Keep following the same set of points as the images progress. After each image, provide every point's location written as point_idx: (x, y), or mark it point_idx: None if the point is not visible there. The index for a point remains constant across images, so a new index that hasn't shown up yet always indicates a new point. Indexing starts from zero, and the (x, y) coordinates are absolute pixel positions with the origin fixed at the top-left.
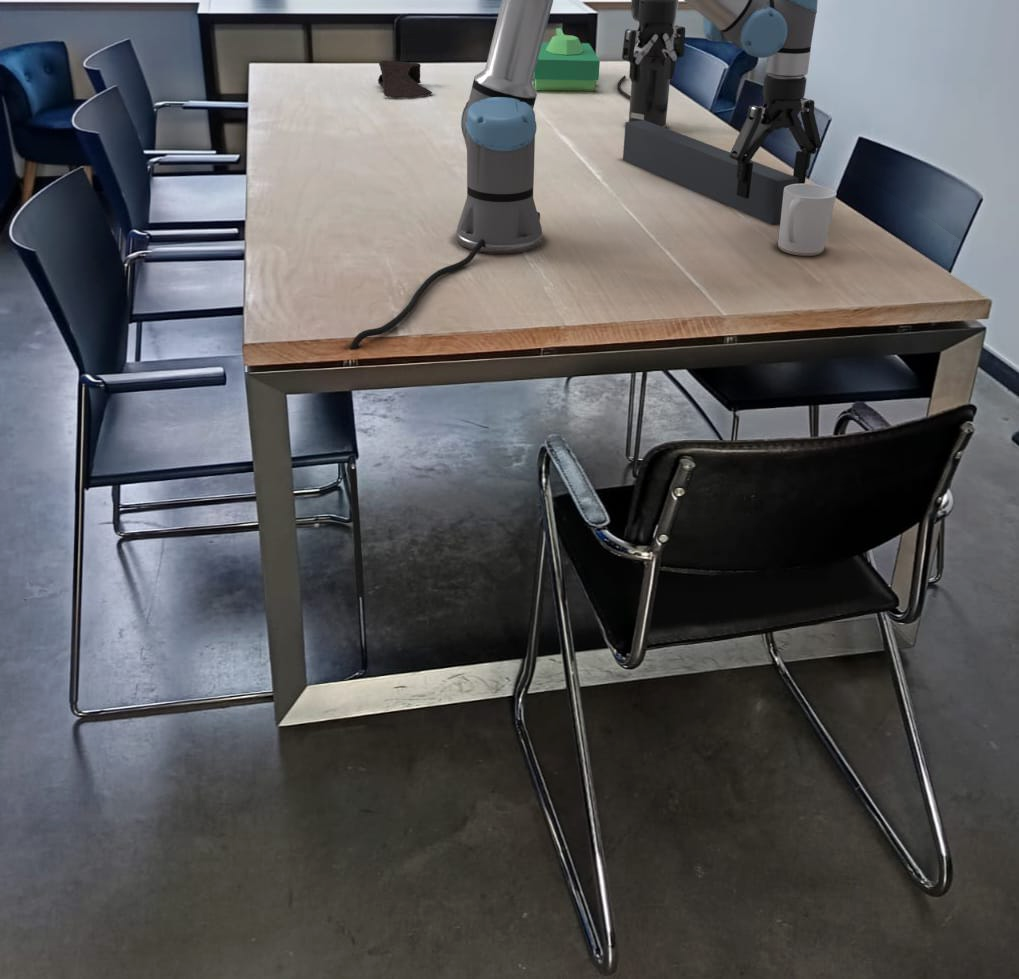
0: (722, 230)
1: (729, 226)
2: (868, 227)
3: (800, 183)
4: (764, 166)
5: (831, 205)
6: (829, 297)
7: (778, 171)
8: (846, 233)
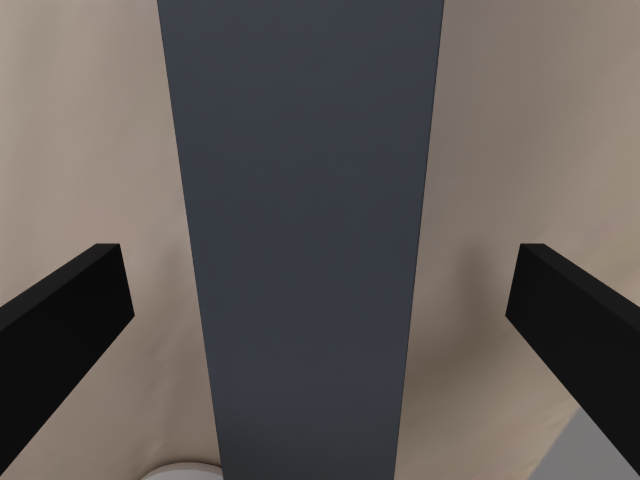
0: None
1: None
2: (534, 451)
3: (521, 321)
4: (395, 173)
5: None
6: None
7: (387, 336)
8: (426, 463)
